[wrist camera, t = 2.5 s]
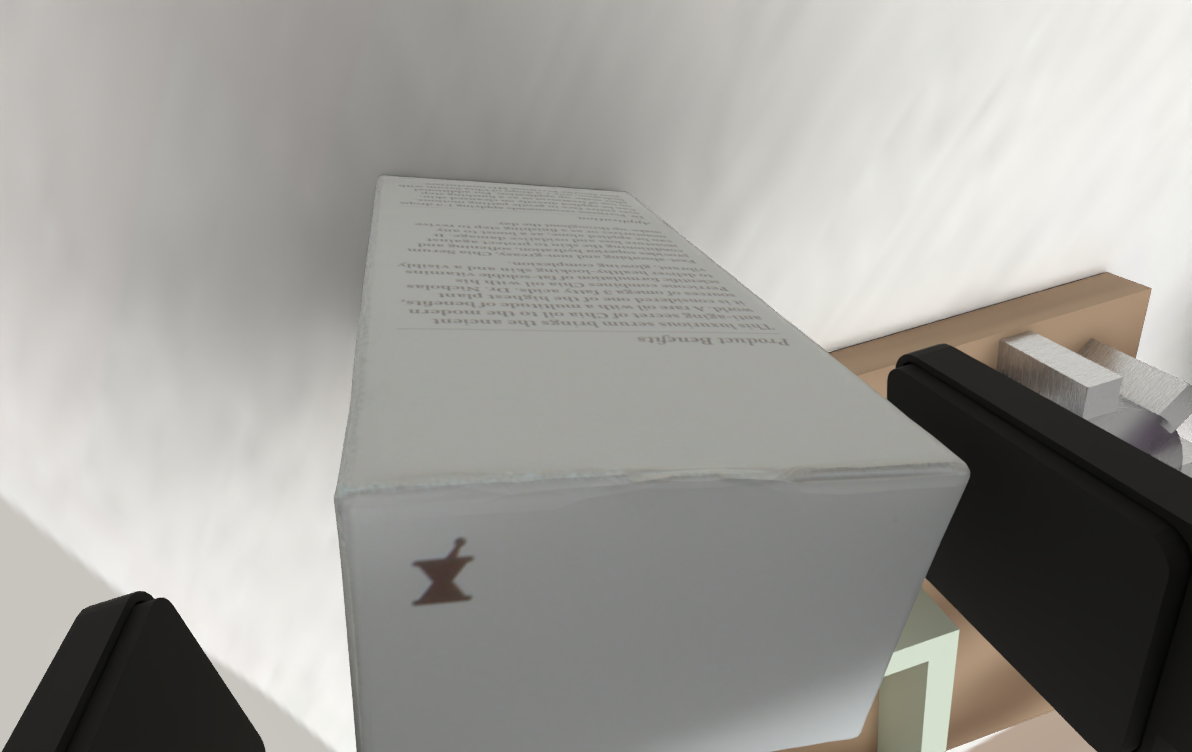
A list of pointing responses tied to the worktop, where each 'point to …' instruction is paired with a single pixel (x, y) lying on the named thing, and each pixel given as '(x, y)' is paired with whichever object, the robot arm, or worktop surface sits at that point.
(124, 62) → the worktop surface
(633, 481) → the skincare box
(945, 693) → the green square frame
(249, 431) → the worktop surface
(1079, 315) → the carrier plate
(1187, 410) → the sun gear
